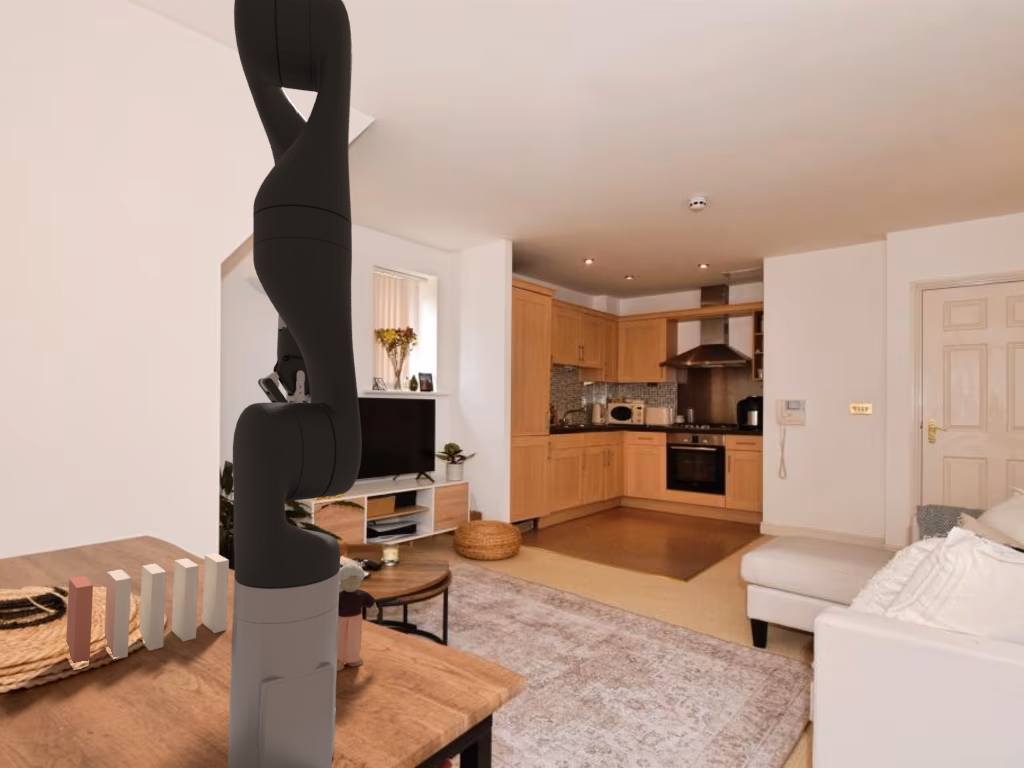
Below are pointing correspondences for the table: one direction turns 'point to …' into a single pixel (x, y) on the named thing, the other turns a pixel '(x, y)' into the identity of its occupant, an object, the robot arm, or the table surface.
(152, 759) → the table surface
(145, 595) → the domino
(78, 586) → the domino
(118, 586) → the domino
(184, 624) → the domino
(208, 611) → the domino
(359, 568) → the grandmother figurine
